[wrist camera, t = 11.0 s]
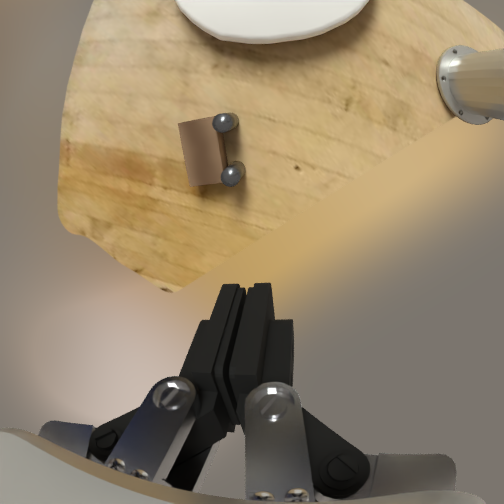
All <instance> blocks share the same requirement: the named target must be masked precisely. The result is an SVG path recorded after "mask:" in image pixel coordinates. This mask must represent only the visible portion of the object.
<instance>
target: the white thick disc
mask: <svg viewBox="0 0 504 504" xmlns="http://www.w3.org/2000/svg"><path fill="white" fill-rule="evenodd" d="M368 1H369V0H175V2H176V3H177V5H178V7H179V9H180V10H181V11H182V12H183V13H184V15H185V16H186V17H187V18H188V19H189V20H190V21H191V22H192V23H194V24H195V25H196V26H198V27H199V28H200V29H202V30H203V31H205V32H206V33H208V34H210V35H212V36H214V37H216V38H217V39H219V40H222V41H231V42H240V43H247V44H272V43H279V42H286V41H293V40H302V39H307V38H310V37H314V36H317V35H321V34H323V33H325V32H327V31H330V30H332V29H334V28H336V27H338V26H340V25H342V24H345V23H346V22H348V21H349V20H350V19H352V18H353V17H354V16H356V15H357V14H358V13H359V12H360V11H361V10H362V9H363V7H364V6H365V5H366V4H367V3H368Z"/></svg>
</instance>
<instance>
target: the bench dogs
mask: <svg viewBox="0 0 504 504" xmlns="http://www.w3.org/2000/svg"><path fill="white" fill-rule="evenodd" d="M238 123H239V119H238V117H237V115H235V114H234V113H223V114H218V115H216V116H215V117H214V119H213V121H212V126H213V128H214V129H215V130H216V131H217V132H220V133H224V132H227V131H229V130H232V129H234V128H236V127H237V125H238ZM244 173H245V166H244V164H243V163H242V162H240V161H234V162H232V163H231V164H230V165H229V166H228V167H227V168H226V169H225V170H224V171H223V172H222V173H221V181H222V183H223V184H224V185H226V186H229V187H232V186H235V185H236V184H237V183H238V182H239V180H240V179H241V177H242V176H243V175H244Z"/></svg>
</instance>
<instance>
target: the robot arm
mask: <svg viewBox="0 0 504 504" xmlns="http://www.w3.org/2000/svg"><path fill="white" fill-rule="evenodd" d="M436 74H437V83H438V88H439V91H440V93H441V96H442V98H443V100H444V102H445V104H446V105H447V106H448V108H449V109H450V110H451V111H452V113H453V114H454V115H455V116H457V117H458V118H459V119H461V120H463V121H465V122H467V123H470V124H475V125H479V124H480V125H481V124H485V123H487V122H489V121H490V120H491V119H492V118H495V119H500V120H504V49H496V50H489V51H482V52H478V51H476V50H475V49H473V48H470V47H468V46H463V45H458V46H453V47H450V48H448V49H446V50H445V51H444V52H443V53H442V55H441V56H440V58H439V61H438V64H437V71H436ZM441 78H442V79H441ZM293 363H294V331H293V320H292V319H290V320H289V319H288V320H275V316H274V307H273V297H272V288H271V283H255V284H254V287H249V288H248V292H247V295H246V290H245V288H240V285H239V284H223V285H222V287H221V290H220V293H219V295H218V298H217V301H216V303H215V306H214V309H213V312H212V314H211V317H210V320H202V321H201V322H200V324H199V326H198V329H197V331H196V334H195V336H194V339H193V341H192V344H191V346H190V349H189V351H188V354H187V356H186V359H185V361H184V364H183V367H182V369H181V372H180V374H179V376H172V377H167V378H164V379H162V380H160V381H159V382H157V383H156V384H155V385H154V386H153V387H152V388H151V390H150V391H149V393H148V394H147V396H146V398H145V399H144V401H143V402H142V404H141V405H140V407H138V408H136V409H134V410H132V411H130V412H128V413H126V414H124V415H122V416H120V417H118V418H116V419H113V420H111V421H109V422H107V423H105V424H103V425H101V426H99V427H98V428H95V427H94V426H93V425H86V424H76V423H68V422H61V421H49V422H47V423H45V424H44V425H43V426H42V428H41V430H40V432H39V435H35V434H33V433H31V432H28V431H25V430H22V429H16V428H0V504H486V503H485V502H484V501H483V500H482V499H481V498H480V497H478V496H476V495H473V494H470V493H465V492H458V491H455V483H456V465H455V463H454V461H453V460H452V458H450V457H449V456H447V455H444V454H388V453H379V454H378V455H368V454H363V453H362V452H361V451H360V450H359V449H357V448H356V447H354V446H353V445H351V444H350V443H349V442H347V441H346V440H344V439H343V438H342V437H340V436H339V435H338V434H336V433H335V432H334V431H332V430H331V429H330V428H328V427H327V426H326V425H324V424H323V423H322V422H320V421H319V420H318V419H317V418H315V417H314V416H313V415H311V414H310V413H309V412H308V411H306V410H305V409H304V408H302V407H301V401H300V397H299V395H298V393H297V391H296V390H295V389H294V388H293V387H292V386H293ZM240 424H241V427H242V429H243V432H244V435H245V490H246V491H245V493H246V494H245V495H246V500H242V499H233V498H225V497H218V496H212V495H206V494H200V493H199V491H200V489H201V486H202V484H203V482H204V480H205V478H206V475H207V473H208V471H209V468H210V466H211V463H212V461H213V459H214V457H215V454H216V452H217V449H218V447H219V443H220V440H221V439H222V438H225V437H226V434H227V432H234V430H235V425H240Z"/></svg>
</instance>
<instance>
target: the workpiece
mask: <svg viewBox="0 0 504 504" xmlns="http://www.w3.org/2000/svg"><path fill="white" fill-rule="evenodd" d="M214 117H215V116H214ZM214 117H208V118H203V119H197V120H192V121H187V122H183V123H178V126H179V132H180V138H181V143H182V148H183V154H184V159H185V164H186V169H187V174H188V179H189V184H190V187H192V186H200V185H207V184H215V183H222V181H221V173H222V172H223V171H224V170H225V169H226V168H227V167H228V163H227V156H226V150H225V144H224V137H223V133H220V132H217V131H216V130H215V129H214V128H213V126H212V121H213V119H214Z"/></svg>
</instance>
